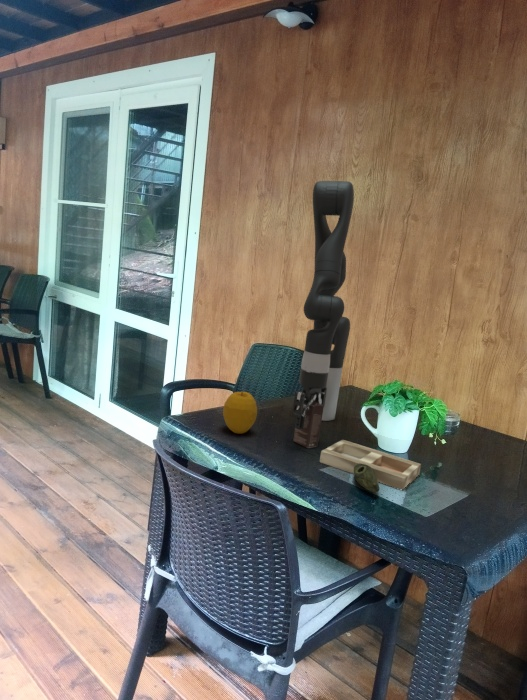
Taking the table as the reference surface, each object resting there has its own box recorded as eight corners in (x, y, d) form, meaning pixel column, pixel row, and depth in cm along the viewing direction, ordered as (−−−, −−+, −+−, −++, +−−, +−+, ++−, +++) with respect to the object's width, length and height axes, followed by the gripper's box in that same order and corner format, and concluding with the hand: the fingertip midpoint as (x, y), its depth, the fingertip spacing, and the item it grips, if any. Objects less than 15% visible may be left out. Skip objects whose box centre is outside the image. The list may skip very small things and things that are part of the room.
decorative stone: (337, 480, 136) (340, 461, 135) (357, 475, 141) (360, 455, 140) (373, 499, 128) (377, 479, 127) (394, 493, 133) (397, 473, 132)
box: (318, 446, 157) (324, 404, 155) (306, 448, 154) (313, 406, 152) (303, 439, 162) (309, 398, 160) (292, 441, 159) (297, 399, 157)
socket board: (340, 449, 157) (342, 439, 156) (419, 475, 146) (421, 464, 145) (319, 462, 146) (321, 451, 145) (402, 490, 135) (404, 478, 134)
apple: (231, 423, 168) (236, 384, 165) (260, 431, 164) (265, 392, 161) (214, 431, 159) (218, 390, 157) (244, 440, 155) (250, 398, 153)
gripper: (315, 363, 162) (306, 417, 165) (289, 368, 150) (281, 427, 153) (338, 368, 158) (330, 424, 161) (314, 374, 146) (305, 434, 149)
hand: (306, 425), depth 157 cm, fingers open, 8 cm apart
